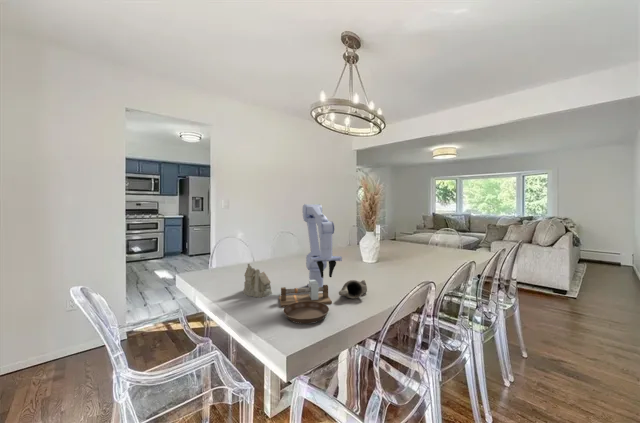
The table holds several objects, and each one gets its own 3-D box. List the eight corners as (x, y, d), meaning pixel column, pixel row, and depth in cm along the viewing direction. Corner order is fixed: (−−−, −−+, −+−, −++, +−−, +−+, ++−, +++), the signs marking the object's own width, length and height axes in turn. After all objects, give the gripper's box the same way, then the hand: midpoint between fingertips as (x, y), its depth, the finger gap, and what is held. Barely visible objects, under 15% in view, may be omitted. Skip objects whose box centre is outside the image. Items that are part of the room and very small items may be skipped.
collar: (309, 295, 131) (308, 280, 131) (315, 294, 132) (315, 279, 132) (311, 300, 124) (311, 284, 124) (318, 299, 125) (318, 283, 125)
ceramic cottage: (259, 299, 130) (259, 265, 130) (236, 293, 140) (237, 262, 140) (283, 292, 142) (283, 262, 143) (261, 288, 152) (261, 259, 153)
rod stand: (279, 298, 131) (279, 284, 131) (325, 294, 135) (325, 281, 135) (281, 307, 119) (280, 292, 119) (331, 303, 124) (331, 289, 124)
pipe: (345, 311, 136) (349, 304, 123) (333, 296, 139) (336, 288, 126) (370, 290, 141) (376, 282, 128) (358, 276, 145) (363, 267, 132)
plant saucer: (291, 330, 99) (291, 321, 99) (278, 312, 115) (277, 304, 115) (337, 321, 106) (337, 313, 106) (318, 305, 122) (318, 298, 122)
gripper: (312, 249, 126) (312, 280, 126) (343, 248, 129) (343, 278, 129) (309, 247, 133) (309, 276, 133) (339, 246, 136) (339, 274, 136)
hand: (326, 277), depth 132 cm, fingers open, 3 cm apart
